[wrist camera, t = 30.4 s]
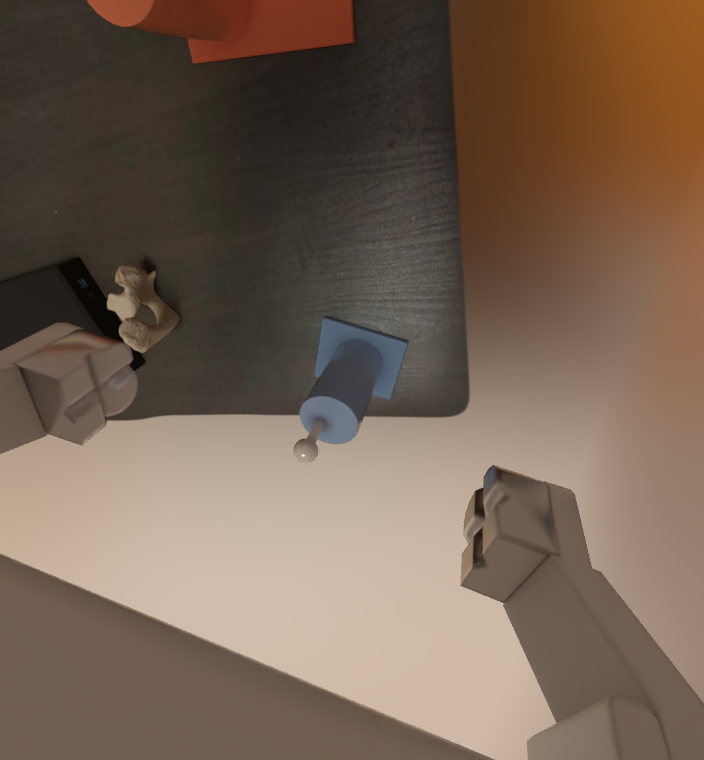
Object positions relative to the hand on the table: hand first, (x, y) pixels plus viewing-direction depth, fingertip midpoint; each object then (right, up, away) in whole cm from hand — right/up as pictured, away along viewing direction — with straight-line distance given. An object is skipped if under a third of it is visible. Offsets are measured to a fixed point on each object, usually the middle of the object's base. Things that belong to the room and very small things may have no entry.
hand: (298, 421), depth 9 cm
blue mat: (+2, +3, +34) cm, 34 cm away
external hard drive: (-39, +8, +45) cm, 60 cm away
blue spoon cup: (+2, +3, +34) cm, 34 cm away
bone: (-22, +11, +37) cm, 44 cm away
